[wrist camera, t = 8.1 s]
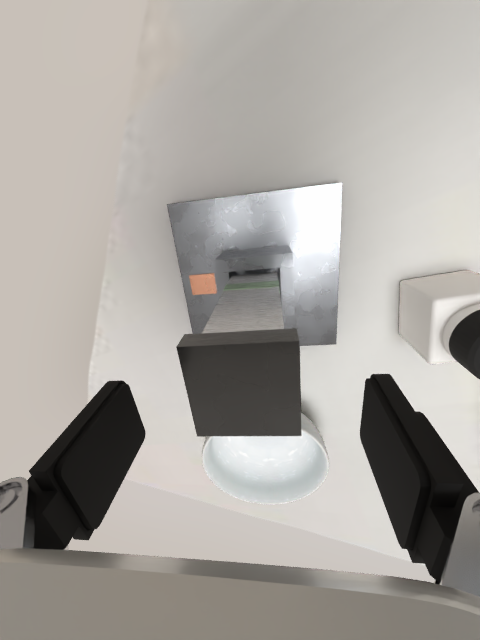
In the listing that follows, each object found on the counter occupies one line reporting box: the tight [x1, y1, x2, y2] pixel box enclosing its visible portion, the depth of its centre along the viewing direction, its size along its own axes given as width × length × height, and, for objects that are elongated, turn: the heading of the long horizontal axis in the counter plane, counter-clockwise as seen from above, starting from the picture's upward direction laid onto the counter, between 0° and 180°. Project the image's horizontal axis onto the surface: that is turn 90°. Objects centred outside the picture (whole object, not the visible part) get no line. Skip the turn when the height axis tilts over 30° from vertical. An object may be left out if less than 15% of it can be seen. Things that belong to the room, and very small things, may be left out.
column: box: [177, 272, 302, 436], centre depth 18 cm, size 5×5×14 cm
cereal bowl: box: [202, 413, 329, 505], centre depth 38 cm, size 17×17×7 cm
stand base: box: [167, 183, 342, 346], centre depth 29 cm, size 18×18×7 cm
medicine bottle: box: [399, 270, 480, 379], centre depth 26 cm, size 7×7×12 cm
